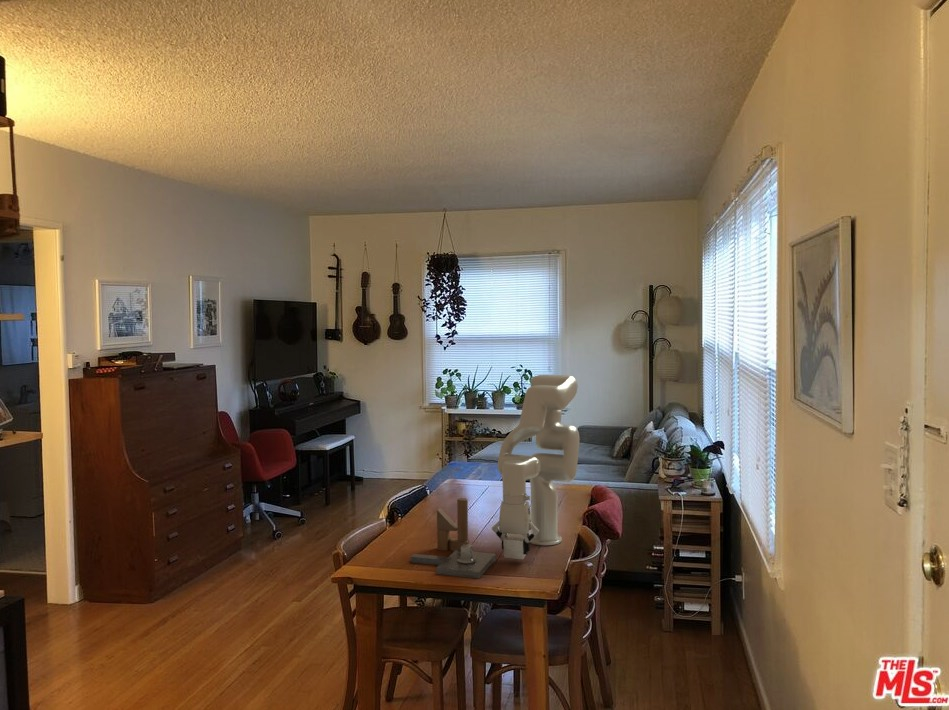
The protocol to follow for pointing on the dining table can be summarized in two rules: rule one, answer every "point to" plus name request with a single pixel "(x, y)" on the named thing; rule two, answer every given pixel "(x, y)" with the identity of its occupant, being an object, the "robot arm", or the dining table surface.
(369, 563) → the dining table surface
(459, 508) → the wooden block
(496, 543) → the dining table surface
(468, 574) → the tang block
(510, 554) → the socket
